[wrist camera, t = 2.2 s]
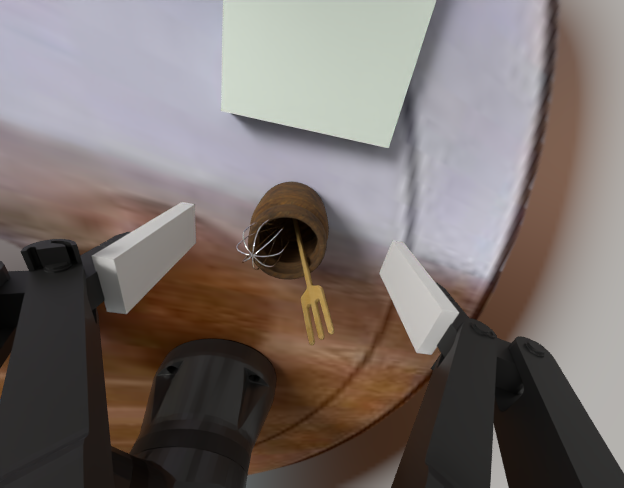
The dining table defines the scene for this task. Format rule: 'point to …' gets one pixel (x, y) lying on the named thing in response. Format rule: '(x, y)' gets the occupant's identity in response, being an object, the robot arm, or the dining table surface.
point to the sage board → (322, 63)
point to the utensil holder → (292, 243)
